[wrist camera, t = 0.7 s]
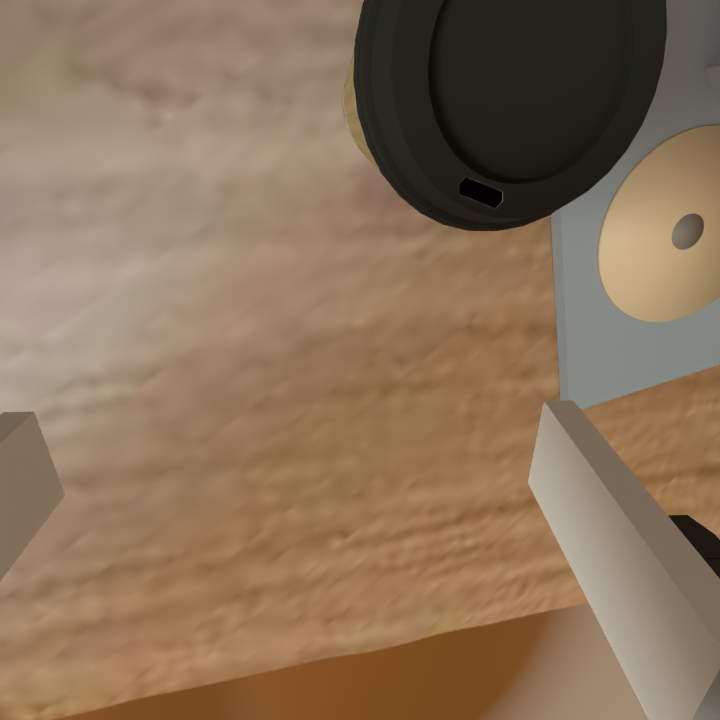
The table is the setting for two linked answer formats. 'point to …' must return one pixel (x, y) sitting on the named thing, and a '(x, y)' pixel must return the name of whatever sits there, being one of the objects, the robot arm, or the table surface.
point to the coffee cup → (500, 100)
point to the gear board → (648, 235)
